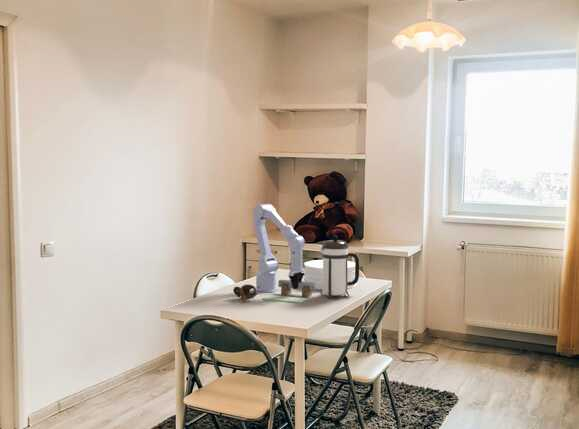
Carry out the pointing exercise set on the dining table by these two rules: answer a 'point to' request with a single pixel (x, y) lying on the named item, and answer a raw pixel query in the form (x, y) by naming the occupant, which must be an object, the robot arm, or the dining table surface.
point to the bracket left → (285, 290)
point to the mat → (285, 299)
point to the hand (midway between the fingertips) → (296, 288)
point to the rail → (300, 283)
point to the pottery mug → (245, 292)
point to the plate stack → (316, 273)
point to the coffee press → (337, 267)
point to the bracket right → (306, 292)
